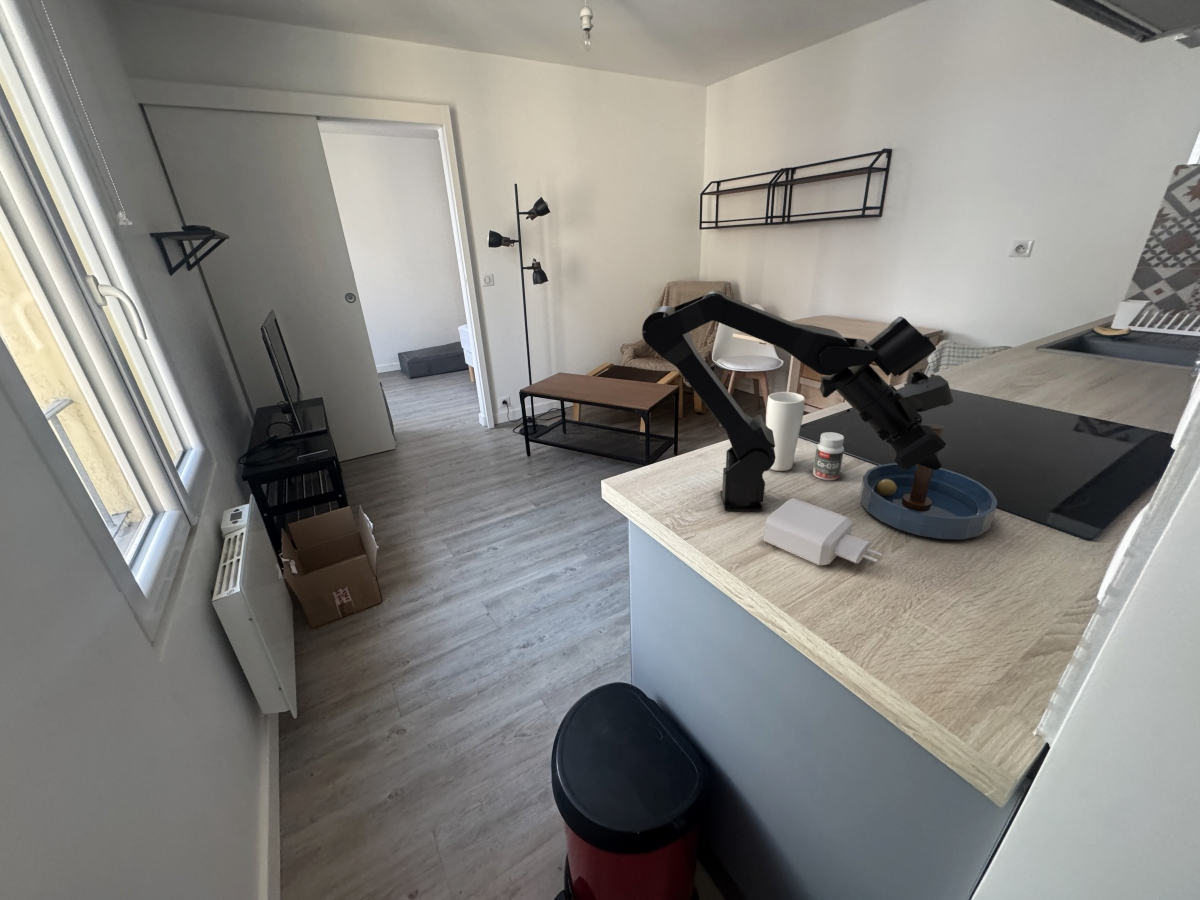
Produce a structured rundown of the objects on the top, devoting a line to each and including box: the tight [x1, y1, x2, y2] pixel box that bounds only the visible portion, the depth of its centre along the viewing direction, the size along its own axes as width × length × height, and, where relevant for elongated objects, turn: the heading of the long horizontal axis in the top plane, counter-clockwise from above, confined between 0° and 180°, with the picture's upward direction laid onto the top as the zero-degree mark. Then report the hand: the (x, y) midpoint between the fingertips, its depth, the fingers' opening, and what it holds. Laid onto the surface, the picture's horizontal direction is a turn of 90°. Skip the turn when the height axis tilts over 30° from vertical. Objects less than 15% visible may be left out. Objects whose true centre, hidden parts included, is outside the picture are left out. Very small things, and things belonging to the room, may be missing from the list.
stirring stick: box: [902, 423, 945, 512], centre depth 74 cm, size 4×4×14 cm
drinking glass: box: [765, 391, 806, 472], centre depth 93 cm, size 7×7×15 cm
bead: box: [877, 479, 897, 496], centre depth 82 cm, size 3×3×3 cm
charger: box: [763, 497, 884, 566], centre depth 70 cm, size 5×9×15 cm
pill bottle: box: [812, 431, 845, 481], centre depth 90 cm, size 5×5×8 cm
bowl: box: [859, 462, 998, 540], centre depth 78 cm, size 18×18×4 cm
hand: (935, 464), depth 73 cm, fingers closed on stirring stick, 2 cm apart
